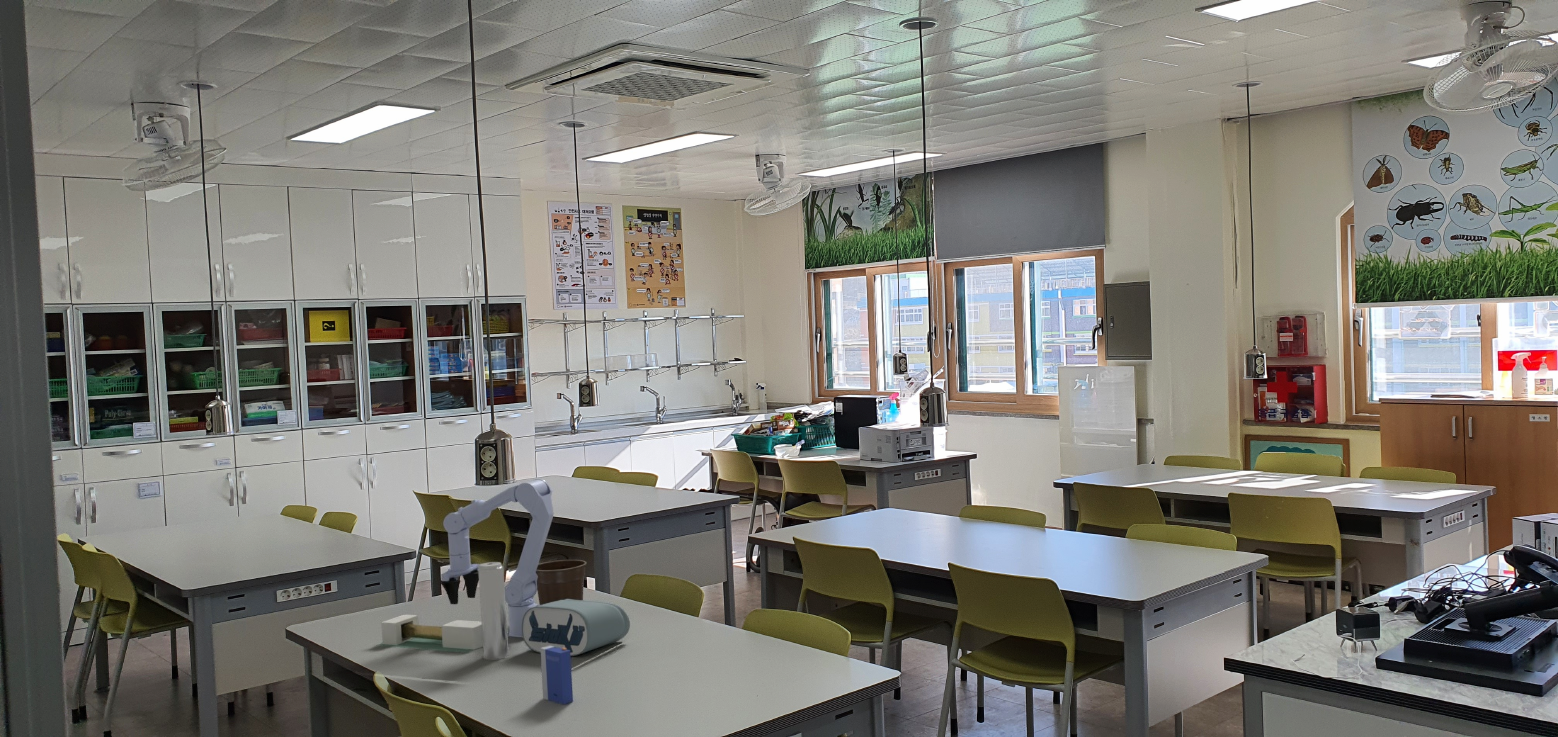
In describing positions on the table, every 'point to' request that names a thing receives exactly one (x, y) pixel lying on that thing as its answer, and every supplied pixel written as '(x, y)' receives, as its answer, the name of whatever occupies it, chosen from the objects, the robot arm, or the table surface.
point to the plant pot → (560, 580)
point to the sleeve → (462, 634)
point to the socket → (397, 629)
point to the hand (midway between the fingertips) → (462, 600)
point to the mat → (427, 645)
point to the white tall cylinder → (493, 610)
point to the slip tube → (421, 631)
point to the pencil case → (574, 625)
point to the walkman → (556, 674)
